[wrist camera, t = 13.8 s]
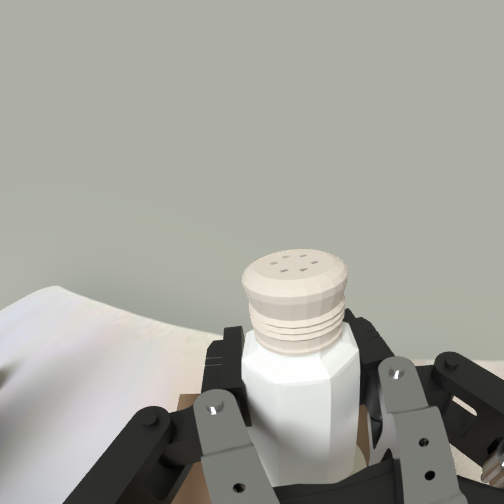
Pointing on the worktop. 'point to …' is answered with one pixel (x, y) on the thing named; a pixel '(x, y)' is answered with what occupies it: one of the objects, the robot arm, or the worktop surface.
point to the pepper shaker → (301, 368)
